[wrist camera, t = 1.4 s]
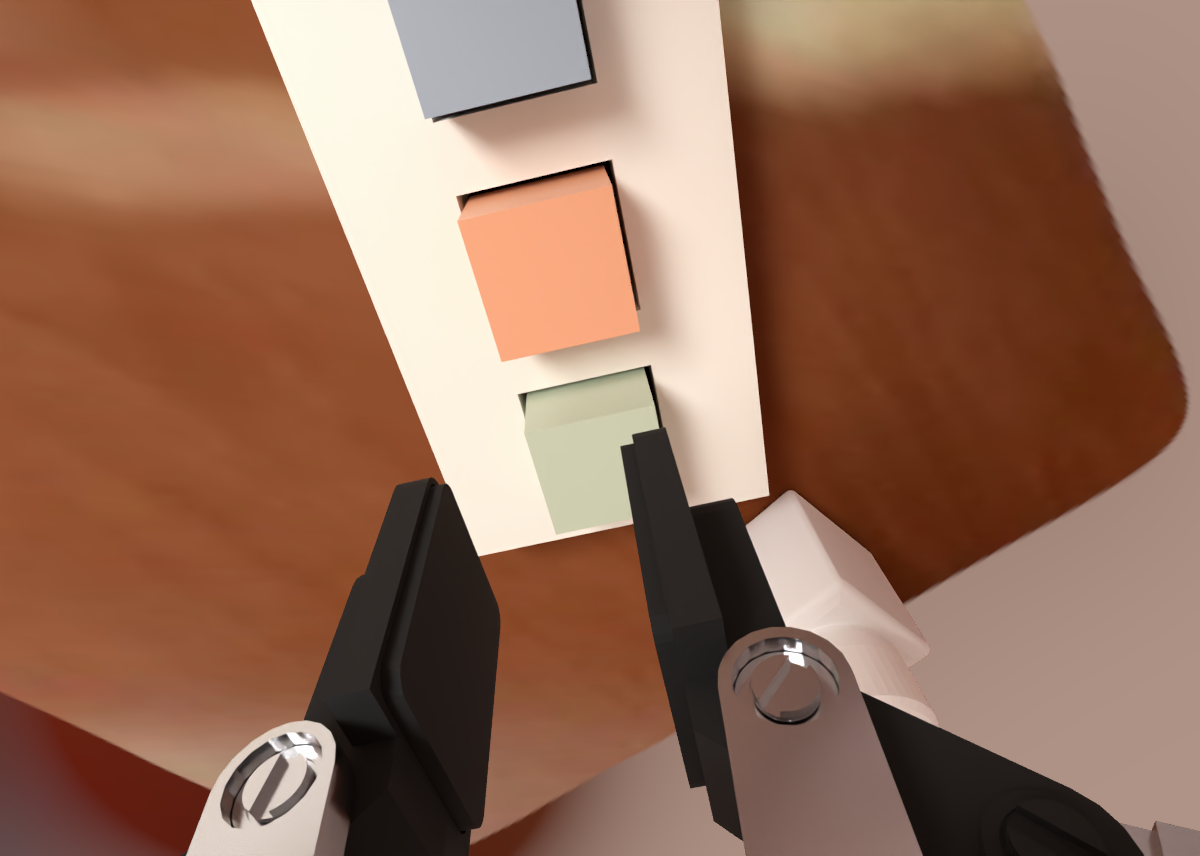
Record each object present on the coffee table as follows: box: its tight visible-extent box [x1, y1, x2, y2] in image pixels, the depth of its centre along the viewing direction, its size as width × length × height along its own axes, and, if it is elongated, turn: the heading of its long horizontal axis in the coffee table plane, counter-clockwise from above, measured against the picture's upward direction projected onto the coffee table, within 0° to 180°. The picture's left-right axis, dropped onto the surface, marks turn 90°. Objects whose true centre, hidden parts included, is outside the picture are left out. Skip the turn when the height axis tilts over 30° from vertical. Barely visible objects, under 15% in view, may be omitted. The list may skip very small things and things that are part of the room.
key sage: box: [524, 367, 659, 535], centre depth 28 cm, size 5×5×4 cm
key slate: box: [388, 0, 591, 119], centre depth 20 cm, size 5×5×4 cm
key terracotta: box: [457, 165, 640, 362], centre depth 24 cm, size 5×5×4 cm
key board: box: [251, 0, 769, 556], centre depth 26 cm, size 26×14×3 cm, turn 12°
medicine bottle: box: [746, 490, 939, 727], centre depth 32 cm, size 7×7×12 cm
